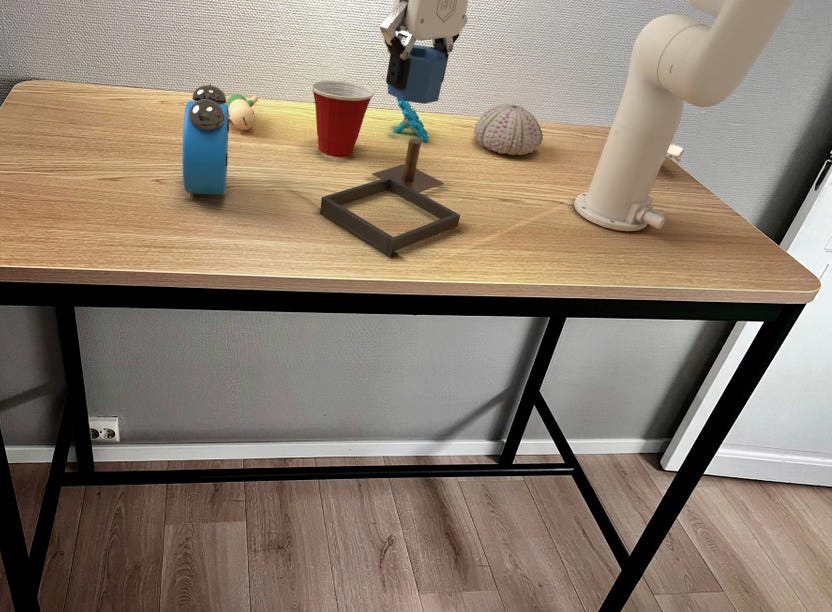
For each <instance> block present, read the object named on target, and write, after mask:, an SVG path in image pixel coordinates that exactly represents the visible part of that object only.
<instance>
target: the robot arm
mask: <svg viewBox="0 0 832 612" xmlns="http://www.w3.org/2000/svg"><path fill="white" fill-rule="evenodd" d="M685 1H686V2H687V4H689V5H690V6H692V7H694V8H695V9H697V10H699V11H701V12H703V13H705V14H707V15H710V16H712V17H714V18H715V20H714V22H713V24H712V25H711V27H710V26H708V25H706V24H705V23H702V22H700V21H697V20H695V19H694V18H691V17H689V16H685V15H682V14H675V13H670V14H669V13H668V14H664V15H660V16H658V17H655V18H654V19H652V20H651V21H649V22H648V23H647V24H646V25H645V26H644V27H643V28H642V30H641V31H640V32H639V34H638V35H637V37H636V39H635V42H634V44H633V47H632V51H631V55H630V61H629V67H628V73H627V78H626V83H625V87H624V91H623V94H622V96H621V100H620V103H619V105H618V108H617V111H616V113H615V116H614V119H613V121H612V124H611V126H610V130H609V133H608V136H607V138H606V141H605V143H604V147H603V149H602V152H601V155H600V158H599V160H598V163H597V166H596V169H595V171H594V173H593V177H592V180H591V183H590V185H589V188H588V190H587V191H585V192H581V193H580V194H578V195H577V196H576V197H575V200H574V203H573V206H574V209H575V211H576V212H577V213H578V214H579V215H580V216H581V217H583V218H584V219H585V220H587V221H589V222H591V223H593V224H595V225H598V226H600V227H602V228H607V229H609V230H613V231H620V232H636V231H640V230H643V229H644V228H646V227H647V226H648V225H649V226H651V227H653V228H655V229H657V230H661V229H662V228H663V226H664V224H665V223H666V218H665V212H662V211H661V210H658V209H656V208H654V207H653V205H652V203H653V201H654V199H655V198H654V197H652V196H650V193H651V192H652V189H653V187H654V184H655V182H656V179H657V178H658V175H659V172H660V170H661V168H662V166H663V164H664V162H665V160H664V158H665V159H666V156H667V154H668V153H667V151H668V149H669V146H670V144H671V145H672V143H673V142H672V141H673V139H674V136H675V135H676V133H677V130H678V129H679V125H680V123H681V119H682V115H683V111H684V103H685V102H686V103H688V104H689V105H692V106H694V107H699V108H710V107H713V106H717V105H719V104H720V103H722V102H724V101H725V100H726V99H728V98H729V97H730V96H731V95H732V94H733V93H734V92H735V91H736V89H738V87H739V86H740V85H741V84H742V82H743V81H744V79H745V78H746V76H747V75H748V73H749V72H750V70H751V69H752V67H753V66H754V65H755V63H756V61H757V60H758V58H759V56H760V55H761V53H762V52H763V51H764V49H765V47H766V46H767V44H768V43H769V41H770V40H771V38H772V37H773V35H774V33H775V32H776V30H777V29H778V28H779V26H780V24H781V23H782V21H783V19H784V18H785V16H786V15H787V13H788V11H789V9H790V8H791V5H792V3H793V1H794V0H685ZM468 5H469V0H393V5H392V10H391V12H390V13H389V15H388V16H387V17H386V18H385V19H384V20H383V21H382V23H381V24H380V26H379V30H380V32H381V34H382V37H383V40H384V44H385V45H386V48H387V54H389V58H388V59H389V61H388V65H387V72H386V79H385V83H386V85H387V86H388V85H390V86H393V87H395V88H397V89H399V90H405V88H406V85H407V79H408V74H409V68H410V63H411V62H410V61H411V60H410V59H408V56H409V54H410V52H411V50H412V48H413V46H414V45H416V44H415V43H416V42H417V41H429V40H430V41H432V46H429V47H430V48H432V49H435V50H437V51H440V52H442V53H444V54H445V56H446V60H447V61H446V65H445V70H444V75H443V80H442V83H444V80H445V75H446V70H447V65H448V60H449V56H450V54H451V53H452V51H453V50H454V44H455V43H456V41H457V40H458V38H459V37H460V34H461V32H462V31H463V29H464V27H465V26H466V25H467V24H468V16H467V11H468ZM403 38H405V39H406V40H405V42H404V44H403V43H402V40H403ZM403 45H404V46H403Z"/></svg>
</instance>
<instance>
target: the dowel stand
mask: <svg viewBox="0 0 832 612" xmlns="http://www.w3.org/2000/svg"><path fill="white" fill-rule="evenodd" d="M407 144H408V145H407V149H406V156H405V159H404V160H405V161H404V163H403V164H400V165H396V166H393V167H389V168H385V169H383V170H379V171H376V172H371V175H372V176H374V177H376V178H377V179H378V180H380V179H383V178H387V177H392V178H394V179H395V180H397V181H399V182H401V183H403V184H405V185H406V186H408V187H410V188H412V189H414V190H415V191H417V192H419V193H422V192H425V191H428V190H430V189H433V188H436V187H440V186H442V185H445V182H443V181H441V180H439V179H437V178H435V177H433V176H431V175H429V174H428V173H426V172H424V171H421V170H420V169H418V168H417V166H418V160H419V156H420V151H421V145H422V140H420V139H419V138H418V139H417V138H410V139H409V140H408V143H407Z"/></svg>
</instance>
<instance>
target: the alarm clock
mask: <svg viewBox="0 0 832 612" xmlns="http://www.w3.org/2000/svg"><path fill="white" fill-rule="evenodd" d="M226 102H227V95H226V94H225V92H224V91H223V90H222V89H221V88H219V87H217V86H215V85H212V83H208V84H204V85H201V86H199V87H197V88H196V89H195V90H194V91H193V93H192V100H189V101H187V102H186V104H185V108H184V115H183V129H182V182H183V189H184V191H185V192H186V193H188V194H189V200H193V195H194V194H198V195H210V196H224V195H226V190H227V177H228V158H229V157H228V156H229V155H228V153H229V132H230V118H229V109H228V105H226Z"/></svg>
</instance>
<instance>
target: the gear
mask: <svg viewBox="0 0 832 612" xmlns="http://www.w3.org/2000/svg"><path fill="white" fill-rule="evenodd" d="M395 98H396V101H397V105H398V107H399V108H400V110H401V113H402V115H403V119H402V120H401V121H400V122H399V123H397V124H398V126H397V127H396V128H394V129H393V130H392V131H391V133H393V134H400V133H401V132H402V131H404V130H406V129H410V128H411V129H412V130H413V129H414V131H415V134H416V136H417V137H418V139H421V142H422V143H427V142H429V136H428V131H427V130H426V129H425V125H424V124H423V122H422V120H420V116H419V115H418V114H417V111H416V109H415V108H414V107H412V105H411V104H410V102H408V101H403V100H401V99H399V98H397V97H395Z"/></svg>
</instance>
